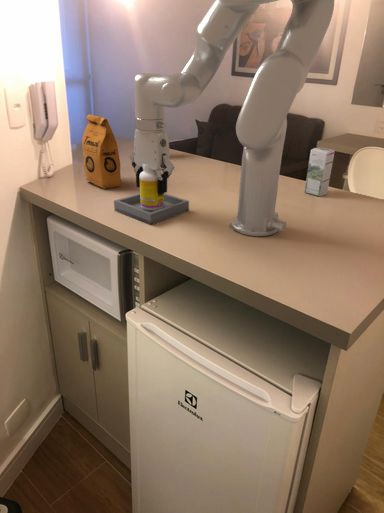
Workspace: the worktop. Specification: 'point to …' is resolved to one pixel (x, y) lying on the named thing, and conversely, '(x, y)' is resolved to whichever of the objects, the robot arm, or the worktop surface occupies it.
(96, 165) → the coffee package
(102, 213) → the worktop surface
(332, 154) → the syrup box
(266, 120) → the robot arm
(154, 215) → the tray
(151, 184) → the supplement bottle
